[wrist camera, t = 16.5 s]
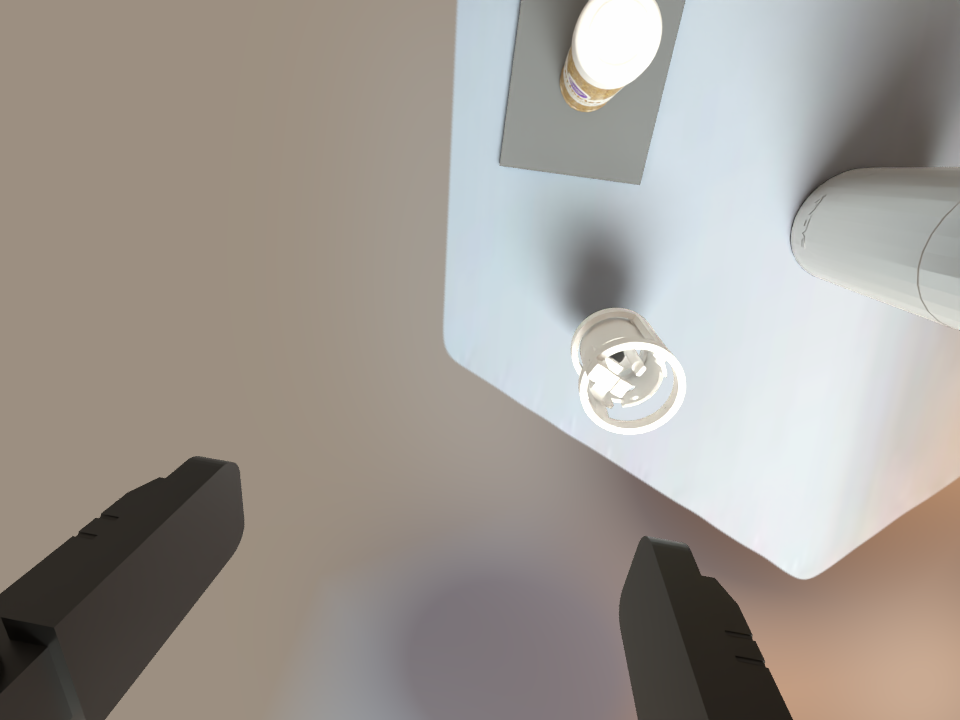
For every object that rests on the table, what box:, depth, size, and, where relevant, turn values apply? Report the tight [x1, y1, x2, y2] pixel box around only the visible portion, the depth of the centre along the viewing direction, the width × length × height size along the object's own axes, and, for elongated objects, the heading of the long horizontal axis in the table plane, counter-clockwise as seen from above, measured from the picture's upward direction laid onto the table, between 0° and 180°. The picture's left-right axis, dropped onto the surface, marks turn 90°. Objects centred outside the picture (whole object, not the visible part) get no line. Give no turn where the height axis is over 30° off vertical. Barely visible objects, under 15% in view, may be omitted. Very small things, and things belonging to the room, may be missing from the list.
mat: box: [500, 0, 685, 185], centre depth 36 cm, size 12×14×1 cm
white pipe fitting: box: [571, 308, 686, 434], centre depth 37 cm, size 7×7×15 cm
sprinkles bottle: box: [560, 0, 662, 112], centre depth 30 cm, size 5×5×13 cm
